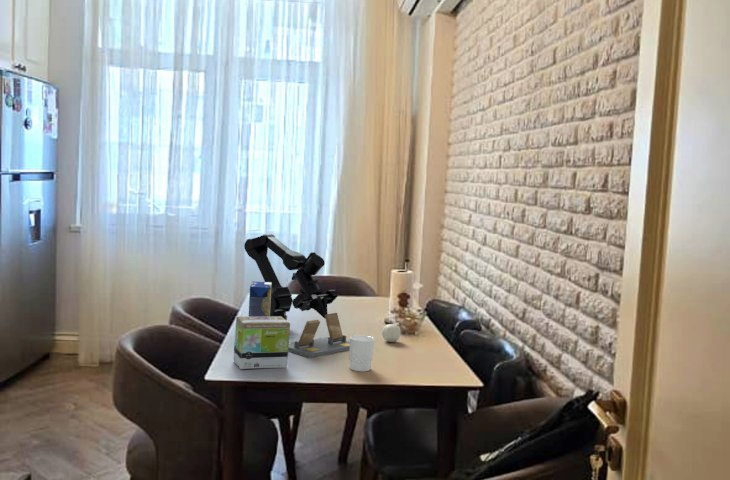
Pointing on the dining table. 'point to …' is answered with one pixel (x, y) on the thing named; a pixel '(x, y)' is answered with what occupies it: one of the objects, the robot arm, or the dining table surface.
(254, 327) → the tea box
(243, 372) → the dining table surface
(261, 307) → the beverage box
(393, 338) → the baseball
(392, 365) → the dining table surface
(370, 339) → the white cup
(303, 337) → the lever
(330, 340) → the twin lever plate
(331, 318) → the lever
